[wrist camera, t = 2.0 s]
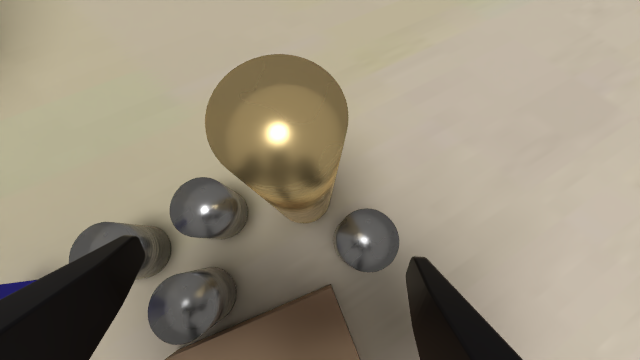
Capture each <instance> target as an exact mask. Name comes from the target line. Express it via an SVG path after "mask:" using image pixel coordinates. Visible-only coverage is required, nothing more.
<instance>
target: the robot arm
mask: <svg viewBox="0 0 640 360" xmlns="http://www.w3.org/2000/svg"><path fill="white" fill-rule="evenodd" d="M144 260H145V251H144V249H143V246H142V244H141V241H140V239H139V238H138V237H137V236H133V235H123V236H120V237H118V238H117V239H115V240H113V241H111V242H109V243H107V244H105V245H103V246H101V247H99V248H98V249H96V250H94V251H92V252H90V253H88V254H86V255H84V256H82V257H80V258H78V259H77V260H75V261H73V262H71V263H69V264H67V265H65V266H63V267H61V268H59V269H58V270H56V271H54V272H52V273H50V274H48V275H46V276H44V277H42V278H40V279H38V280H37V281H35V282H33V283H31V284H29V285H27V286H25V287H23V288H21V289H19V290H18V291H16V292H14V293H12V294H10V295H8V296H6V297H4V298H2V299H0V360H89V359H90V357H91V356H92V354H93V352H94V351H95V349H96V348H97V346H98V344H99V343H100V341H101V339H102V338H103V336H104V334H105V333H106V331H107V330H108V328H109V326H110V325H111V323H112V321H113V320H114V318H115V316H116V315H117V313H118V312H119V310H120V308H121V306H122V305H123V303H124V301H125V299H126V297H127V295H128V293H129V291H130V289H131V287H132V285H133V283H134V281H135V279H136V277H137V275H138V272H139V270H140V268H141V266H142V264H143V262H144ZM406 284H407V291H408V299H409V306H410V314H411V321H412V327H413V332H414V336H415V340H416V344H417V348H418V352H419V356H420V360H523V359H522V358H521V357H520V356H519V355H518V354H517V353H516V352H515V351H514V350H513V349H512V348H511V347H510V346H509V345H508V344H507V342H506V341H505V340H504V339H503V338H502V337H501V336H500V335H499V334H498V333H497V332H496V331H495V330H494V329H493V328H492V327H491V326H490V325H489V324H488V322H487V321H486V320H485V319H484V318H483V317H482V316H481V315H480V314H479V313H478V312H477V311H476V310H475V309H474V308H473V307H472V306H471V305H470V304H469V302H468V301H467V300H466V299H465V298H464V297H463V296H462V295H461V294H460V293H459V292H458V291H457V290H456V289H455V288H454V287H453V286H452V285H451V284H450V282H449V281H448V280H447V279H446V278H445V277H444V276H443V275H442V274H441V273H440V272H439V271H438V270H437V269H436V268H435V267H434V266H433V265H432V264H431V262H430V261H429V260H428V259H427V258H425V257H416V256H414V257H412V258H411V260H410V263H409V266H408V269H407V272H406Z"/></svg>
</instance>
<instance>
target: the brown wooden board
mask: <svg viewBox="0 0 640 360" xmlns="http://www.w3.org/2000/svg"><path fill="white" fill-rule="evenodd" d="M165 360H360V359H359V356H358V353H357V351H356V348H355V346H354V343H353V340H352V338H351V335H350V333H349V330H348V328H347V325H346V322H345V320H344V317H343V315H342V312H341V310H340V307H339V304H338V302H337V299H336V297H335V294H334V291H333V289H332V286H331V284H330V285H327V286H325V287H323V288H320V289H318V290H316V291H313V292H311V293H309V294H306V295H304V296H302V297H300V298H297V299H295V300H293V301H290V302H288V303H286V304H283V305H281V306H279V307H276V308H274V309H272V310H269V311H267V312H265V313H262V314H260V315H258V316H255V317H253V318H251V319H248V320H246V321H244V322H241V323H239V324H237V325H235V326H232V327H230V328H228V329H225V330H223V331H221V332H218V333H216V334H214V335H211V336H209V337H207V338H204V339H202V340H200V341H197V342H195V343H193V344H190V345H188V346H186V347H183V348H181V349H179V350H177V351H176V352H174V353H173V354H172V355H170V356H169V357H168V358H166V359H165Z"/></svg>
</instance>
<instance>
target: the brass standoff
mask: <svg viewBox="0 0 640 360" xmlns="http://www.w3.org/2000/svg"><path fill="white" fill-rule="evenodd" d="M347 127H348V107H347V103H346V99H345V97H344V94H343V92H342V90H341V88H340V86H339V85H338V83H337V82H336V81H335V79H334V78H333V77H332V76H331V75H330V74H329V73H328V72H327V71H326V70H324V69H323V68H322V67H321V66H319V65H317V64H316V63H314V62H312V61H309V60H307V59H304V58H301V57H298V56H293V55H284V54H274V55H266V56H261V57H257V58H254V59H251V60H249V61H246V62H244V63H243V64H241V65H239V66H237V67H236V68H234V69H233V70H232V71H230V72H229V73H228V74H227V75H226V76H225V77H224V78H223V79H222V80H221V81H220V82H219V84H218V85H217V87H216V88H215V90H214V91H213V93H212V95H211V97H210V100H209V103H208V105H207V110H206V115H205V128H206V135H207V139H208V142H209V145H210V147H211V149H212V151H213V153H214V154H215V156H216V157H217V159H218V160H219V161H220V162H221V164H222V165H224V166H225V167H226V168H227V169H228V170H229V171H230V172H231V173H233V174H234V175H235V176H236V177H238V178H239V179H240V180H241V181H243V182H244V183H245V184H246V185H247V186H249V187H250V188H251V189H252V190H254V191H255V192H256V193H257V194H259V195H260V196H261V197H262V198H264V199H265V200H266V201H267V202H268V203H270V204H271V205H272V206H273V207H275V208H276V209H277V210H278V211H280V212H281V213H282V214H283V215H284V216H286V217H287V218H288V219H290V220H292V221H294V222H297V223H310V222H313V221H315V220H317V219H319V218H320V217H321V216H322V215H323V214H324V213H325V212H326V210H327V208H328V206H329V203H330V199H331V195H332V191H333V186H334V182H335V178H336V174H337V170H338V166H339V161H340V157H341V153H342V149H343V145H344V141H345V136H346V132H347Z"/></svg>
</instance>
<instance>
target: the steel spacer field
mask: <svg viewBox="0 0 640 360" xmlns="http://www.w3.org/2000/svg"><path fill="white" fill-rule="evenodd" d="M170 217H171V220H172V223H173V225H174V226H175V227H176V229H177V230H178V231H180V232H181V233H182V234H184V235H187V236H190V237H198V238H216V239H225V238H229V237H232V236H234V235H236V234H237V233H238V232H239V231H240V230H241V229H242V228H243V227H244V225H245V223H246V221H247V217H248V208H247V204H246V202H245V200H244V199H243V198H242V197H241V196H240V195H239V194H238V193H236V192H234V191H233V190H231V189H229V188H228V187H226V186H225V185H223V184H221V183H220V182H218V181H216V180H214V179H211V178H206V177H201V178H195V179H192V180H190V181H188V182H186V183H184V184H183V185H182V186H181V187H180V188H179V189H178V190H177V191H176V192H175V194H174V196H173V198H172V200H171V204H170ZM123 235H133V236H137V237H138V238H139V239H140V241H141V244H142V246H143V249H144V251H145V260H144V262H143V264H142V266H141V268H140V270H139V272H138V275H137V277H136V279H135V280H137V279H142V278H147V277H151V276H153V275H155V274H157V273H158V272H159V271H161V270H162V269H163V268H164V266H165V265H166V263H167V262H168V260H169V257H170V253H171V244H170V240H169V238H168V236H167V235H166V233H165V232H164V231H162V230H161V229H159V228H157V227H152V226H143V225H133V224H124V223H114V222H101V223H97V224H94V225H92V226H90V227H89V228H87V229H86V230H84V231H83V232H82V233H81V234H80V235H79V236H78V237H77V239H76V240H75V242H74V244H73V245H72V248H71V251H70V255H69V263H71V262H73V261H75V260H77V259H78V258H80V257H82V256H84V255H86V254H88V253H90V252H92V251H94V250H96V249H98V248H99V247H101V246H103V245H105V244H107V243H109V242H111V241H113V240H115V239H117V238H118V237H120V236H123ZM333 241H334V247H335V250H336V252H337V254H338V256H339V257H340V258H341V259H342V260H343V261H344V262H346V263H347V264H349V265H350V266H351V267H353V268H355V269H357V270H359V271H363V272H376V271H379V270H382V269H384V268H385V267H387V266H388V265H389V264H390V263H391V262H392V261H393V260H394V258H395V256H396V254H397V252H398V248H399V236H398V232H397V229H396V227H395V225H394V224H393V222H392V221H391V220H390V219H389V218H388V217H387V216H386V215H385V214H383V213H382V212H379V211H377V210H374V209H360V210H357V211H354V212H352V213H351V214H349V215H348V216H347V217H346V218H345V219H344V220H343V221H342V222H341V223H340V224H339V225H338V227H337V228H336V230H335V233H334V240H333ZM235 299H236V285H235V282H234V280H233V278H232V277H231V275H230V274H229V273H228V272H226V271H225V270H223V269H220V268H216V267H209V268H204V269H200V270H195V271H190V272H185V273H181V274H176V275H173V276H171V277H169V278H167V279H166V280H164V281H163V282H162V283H161V284H160V285H159V286H158V287H157V288H156V290H155V291H154V293H153V295H152V297H151V299H150V302H149V307H148V320H149V324H150V327H151V329H152V331H153V332H154V334H155V335H156V336H157V337H158V338H159V339H161V340H162V341H164V342H166V343H169V344H175V345H178V344H185V343H188V342H191V341H193V340H194V339H196V338H197V337H199V336H200V335H201V334H203V333H204V332H205V331H207V330H208V329H209V328H211V327H212V326H213V325H215V324H216V323H217V322H218V321H220V320H221V319H222V318H224V317H225V316H226V315H227V314H228V313H229V312H230V310H231V309H232V307H233V305H234V303H235Z"/></svg>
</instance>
